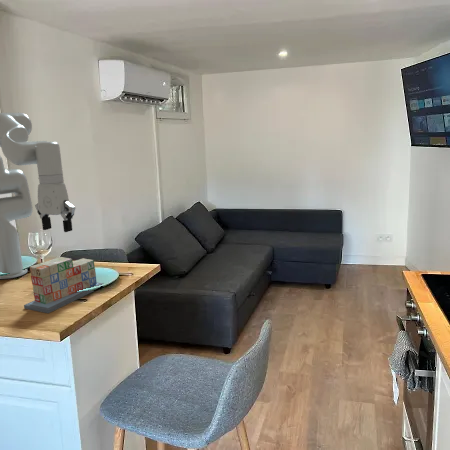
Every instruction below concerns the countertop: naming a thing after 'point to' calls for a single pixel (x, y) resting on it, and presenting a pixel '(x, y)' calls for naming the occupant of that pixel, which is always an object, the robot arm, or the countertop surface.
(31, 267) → the stack of blocks
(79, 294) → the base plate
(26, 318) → the countertop surface
